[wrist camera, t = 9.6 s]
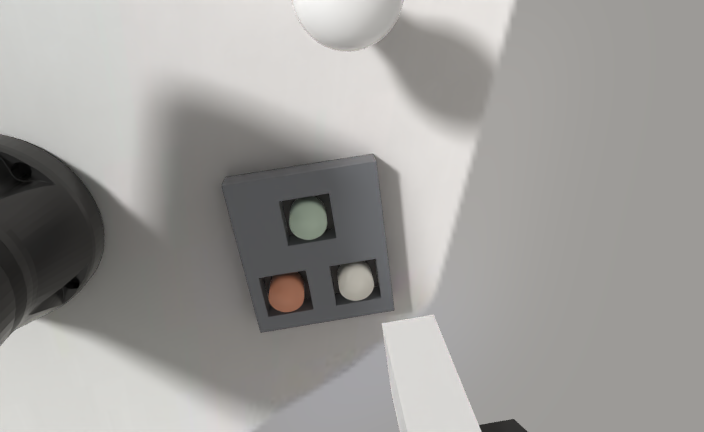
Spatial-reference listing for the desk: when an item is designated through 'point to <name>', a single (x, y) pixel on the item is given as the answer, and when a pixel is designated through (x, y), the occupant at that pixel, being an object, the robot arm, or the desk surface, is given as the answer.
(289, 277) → the rust button
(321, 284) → the panel
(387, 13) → the lightbulb
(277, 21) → the desk surface
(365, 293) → the cream button
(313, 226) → the sage button
